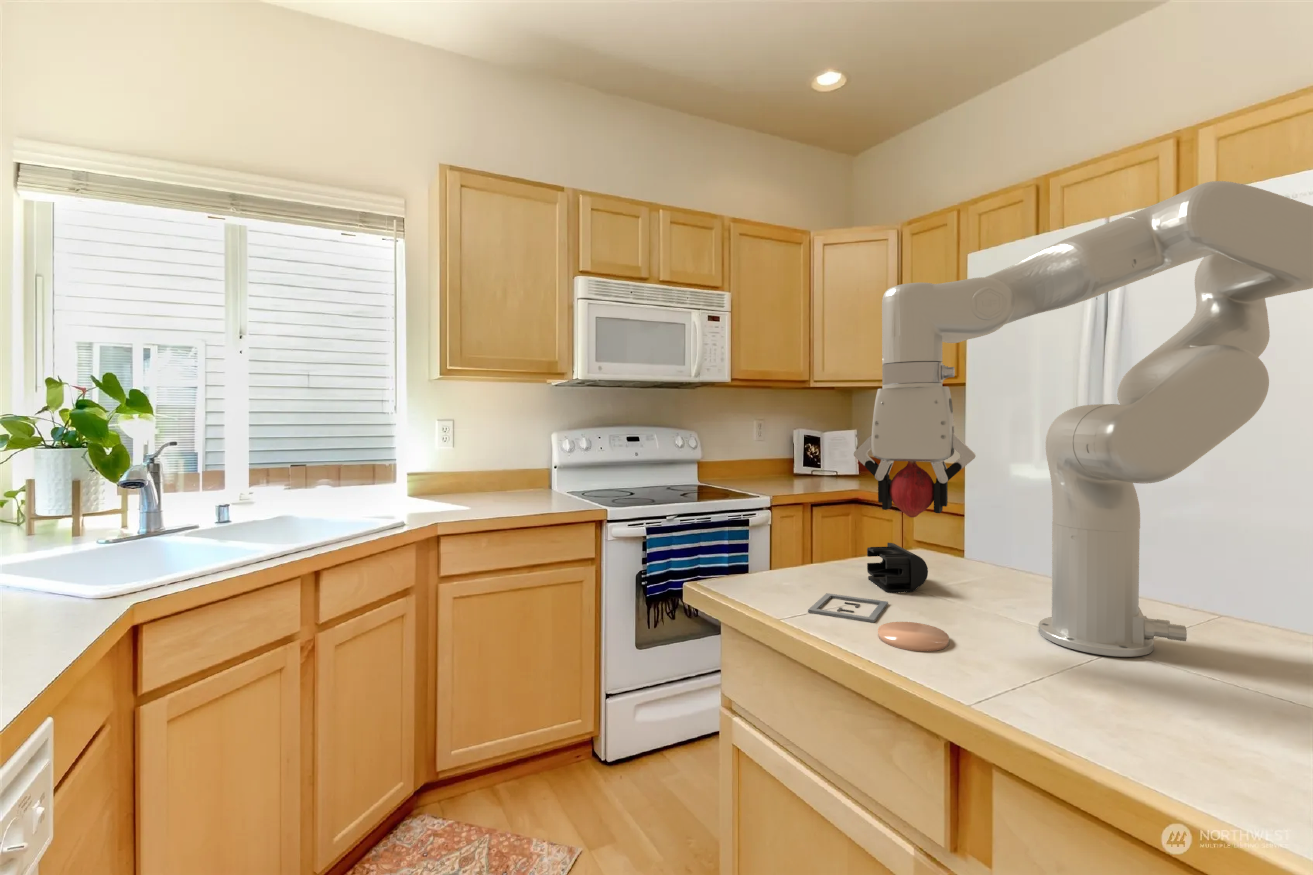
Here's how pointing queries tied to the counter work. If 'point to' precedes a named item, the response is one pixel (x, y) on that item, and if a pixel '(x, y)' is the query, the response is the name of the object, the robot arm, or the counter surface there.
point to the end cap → (896, 569)
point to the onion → (912, 490)
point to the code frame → (871, 618)
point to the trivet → (913, 636)
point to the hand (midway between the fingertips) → (912, 508)
